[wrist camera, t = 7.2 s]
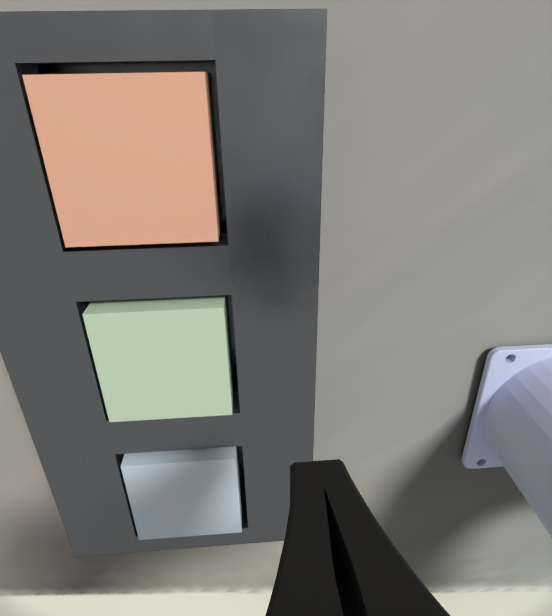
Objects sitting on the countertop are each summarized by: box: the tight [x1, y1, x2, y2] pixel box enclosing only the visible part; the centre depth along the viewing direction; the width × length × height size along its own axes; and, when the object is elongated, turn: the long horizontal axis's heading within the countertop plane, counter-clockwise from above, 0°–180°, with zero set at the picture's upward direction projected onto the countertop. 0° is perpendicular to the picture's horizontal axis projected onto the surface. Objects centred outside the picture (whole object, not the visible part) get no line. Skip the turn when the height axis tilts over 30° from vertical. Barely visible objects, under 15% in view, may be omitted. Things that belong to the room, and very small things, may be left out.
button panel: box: [0, 9, 327, 557], centre depth 18 cm, size 12×23×3 cm, turn 1°
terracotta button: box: [22, 72, 222, 247], centre depth 15 cm, size 5×5×3 cm
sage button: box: [82, 295, 234, 422], centre depth 18 cm, size 5×5×3 cm
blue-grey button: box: [121, 446, 242, 540], centre depth 22 cm, size 5×5×3 cm
